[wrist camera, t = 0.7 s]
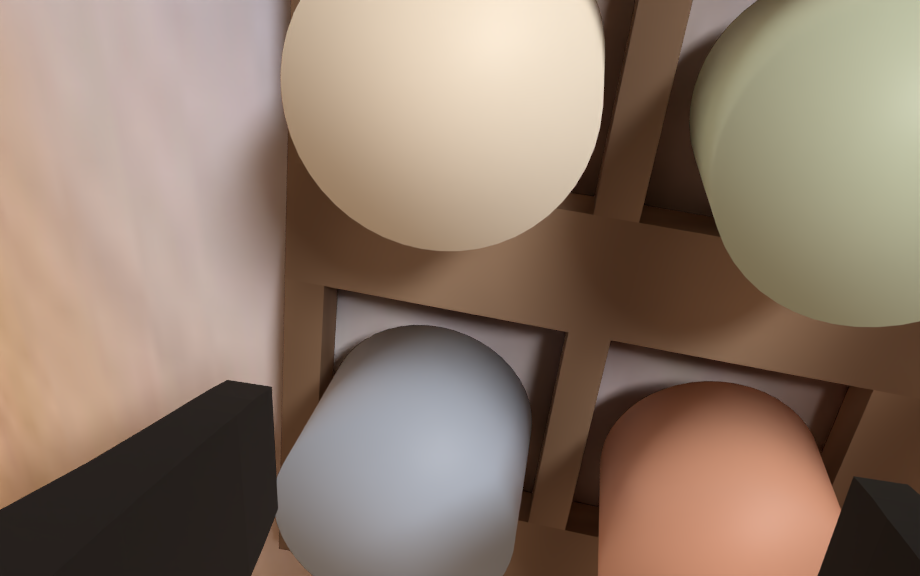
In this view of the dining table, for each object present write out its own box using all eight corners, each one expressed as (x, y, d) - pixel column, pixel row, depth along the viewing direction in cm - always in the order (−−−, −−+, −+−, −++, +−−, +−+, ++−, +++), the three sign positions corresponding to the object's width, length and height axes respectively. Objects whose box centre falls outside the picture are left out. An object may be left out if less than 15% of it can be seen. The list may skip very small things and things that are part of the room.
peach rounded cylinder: (851, 406, 18) (909, 529, 15) (782, 570, 21) (818, 710, 17) (624, 362, 19) (627, 470, 15) (582, 527, 21) (576, 654, 17)
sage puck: (1026, -10, 14) (1166, 21, 11) (914, 256, 16) (998, 354, 13) (729, -51, 15) (766, -35, 11) (662, 212, 17) (675, 295, 13)
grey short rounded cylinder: (548, 347, 19) (533, 451, 15) (515, 513, 21) (496, 636, 18) (336, 307, 19) (275, 398, 16) (327, 473, 22) (272, 585, 18)
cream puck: (630, -65, 15) (636, -53, 11) (578, 197, 17) (569, 276, 14) (359, -103, 15) (283, -104, 12) (344, 157, 18) (277, 222, 14)
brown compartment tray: (1325, -273, 13) (1388, -287, 12) (857, 644, 23) (869, 680, 22) (322, -378, 15) (299, -399, 14) (293, 520, 25) (278, 548, 24)
